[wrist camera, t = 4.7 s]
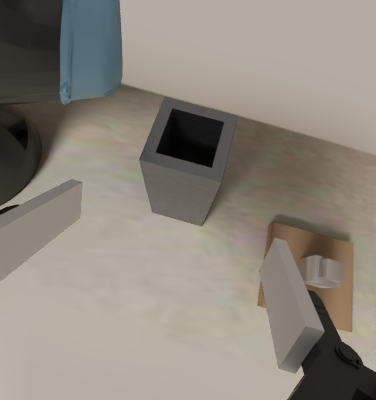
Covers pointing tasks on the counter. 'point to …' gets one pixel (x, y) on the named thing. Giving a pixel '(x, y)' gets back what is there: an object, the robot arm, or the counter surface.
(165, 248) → the counter surface
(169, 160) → the grey square tube
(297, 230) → the drive block
